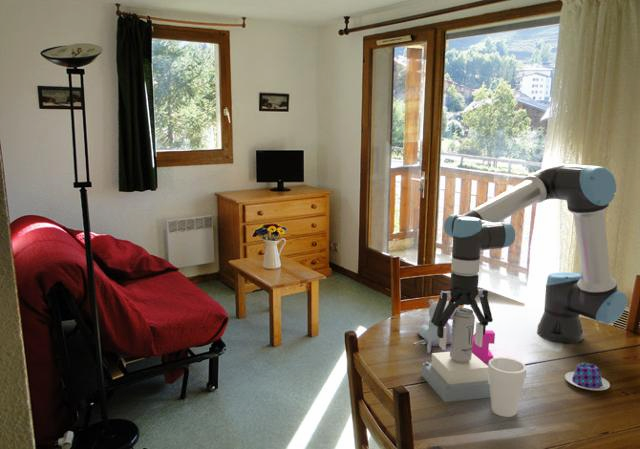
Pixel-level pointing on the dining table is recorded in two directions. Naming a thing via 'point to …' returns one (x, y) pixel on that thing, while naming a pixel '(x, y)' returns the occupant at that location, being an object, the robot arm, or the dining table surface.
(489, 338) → the bracket
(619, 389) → the dining table surface
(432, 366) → the cream and grey box
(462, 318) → the energy drink can
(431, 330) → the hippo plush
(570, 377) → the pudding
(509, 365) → the foam cup
